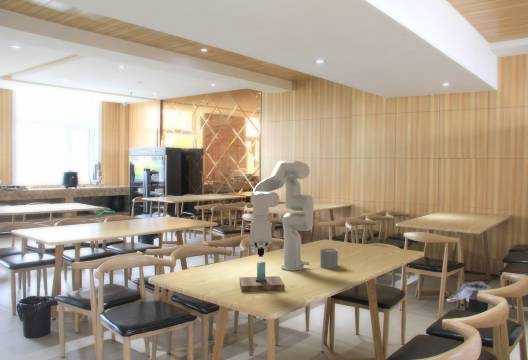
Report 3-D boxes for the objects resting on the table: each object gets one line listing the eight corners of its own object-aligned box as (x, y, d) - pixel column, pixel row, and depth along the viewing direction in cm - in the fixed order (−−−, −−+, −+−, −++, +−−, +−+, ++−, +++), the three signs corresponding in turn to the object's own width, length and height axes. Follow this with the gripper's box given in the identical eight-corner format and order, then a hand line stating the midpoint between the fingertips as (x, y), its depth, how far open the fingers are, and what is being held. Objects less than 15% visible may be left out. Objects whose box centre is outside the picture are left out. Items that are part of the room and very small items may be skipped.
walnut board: (279, 282, 225) (279, 276, 225) (284, 290, 209) (284, 284, 209) (239, 283, 223) (239, 277, 223) (241, 292, 207) (241, 285, 207)
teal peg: (265, 285, 218) (264, 261, 218) (265, 288, 214) (265, 263, 214) (256, 286, 218) (256, 261, 218) (257, 288, 214) (257, 263, 213)
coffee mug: (330, 269, 252) (330, 252, 251) (316, 266, 259) (316, 249, 259) (344, 266, 261) (344, 249, 261) (331, 263, 268) (331, 246, 268)
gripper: (275, 217, 220) (275, 254, 220) (244, 217, 218) (244, 255, 218) (277, 219, 212) (277, 257, 213) (246, 219, 210) (246, 258, 211)
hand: (260, 256), depth 215 cm, fingers closed
